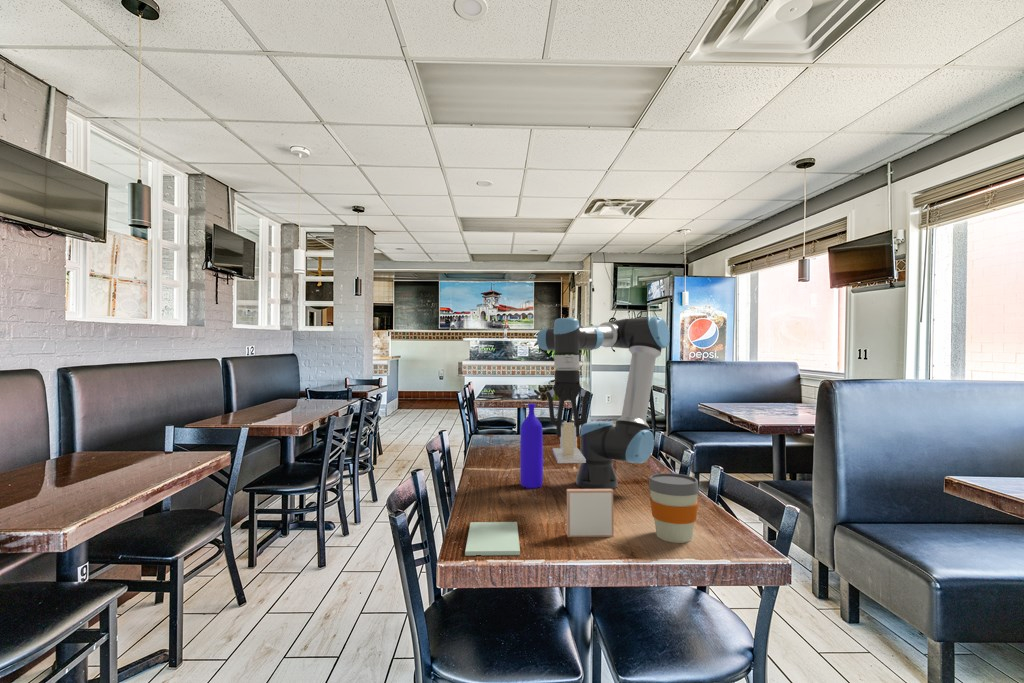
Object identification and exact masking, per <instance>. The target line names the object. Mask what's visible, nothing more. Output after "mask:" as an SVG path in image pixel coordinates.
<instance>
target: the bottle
mask: <svg viewBox="0 0 1024 683" xmlns="http://www.w3.org/2000/svg"><path fill="white" fill-rule="evenodd" d="M527 406H528V415H527V417H525V418H524V420H523V421H522V422H521V425H520V439H519V440H520V449H519V450H520V451H519V452H520V455H519V457H520V458H519V459H520V460H519V461H520V462H519V463H520V465H519V466H520V467H519V468H520V486H521V487H522V486H523V487H522V488H524V487H526V488H525V489H539V488H538V487H540V488H542V486H543V479H544V476H543V475H544V472H543V471H544V456H543V455H544V447H543V446H544V444H543V440H544V439H543V435H544V434H543V425H542V422H540V420H539V418H537V416H536V415H535V406H536V403H527Z"/></svg>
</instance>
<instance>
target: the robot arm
mask: <svg viewBox="0 0 1024 683" xmlns="http://www.w3.org/2000/svg"><path fill="white" fill-rule="evenodd" d="M670 339H671V338H670V330H669V327H668V323H666V321H665V319H663V318H662V317H659V316H648V317H647V316H646V317H635V318H633V317H632V318H622V319H617V320H614V321H613V320H612V321H608V322H603V323H600V324H598V325H580V322H579V319H578V318H575V317H563V318H562V317H560V318H555V320H554V322H553V327H546V328H542V329H540V330H539V332H537V336H536V344H537V346H538V347H539V349H541V350H543V351H548V352H551V351H554V355H553V359H554V360H553V361H554V366H553V368H555V369H556V370H554V385H553V387H552V389H550V390H546V391H545V397H546V398H547V402H548V412H549V414H548V415H549V422H550V424H551V425H554V426H555V427H556V436H557V438H559V445H560V446H559V448H561V449H564V439H563V426H562V420H563V413H564V407H565V406H564V404H565V401H570V405H571V409H572V410H571V411H572V416H573V430H574V449H576V448H577V437H578V438H579V437H580V439H579V440H580V452H581V453H582V455H583V456H584V457H585V459H586V463H579V468H578V470H577V474H576V477H575V483H576V484H575V485H576V486H577V487H579V488H580V489H612V490H614V489H616V488H617V487H618V485H619V484H618V478H617V474H616V471H615V468H614V463H613V461H621V462H626V463H629V464H643V463H645V462H646V461H648V460H649V459H650V457H651V455H652V453H653V451H654V447H655V440H654V438H655V437H654V434H653V433H652V431H650V426H649V424H648V422H647V417H648V416H647V415H648V410H649V405H650V398H651V390H652V385H653V384H652V383H653V379H654V372H655V366H656V359H657V358H658V357H660V356H661V354H662V349H666V348H667V347H668V346H669V344H670ZM601 346H602V347H603V348H618V349H628V351H629V353H630V354H631V357H630V358H631V359H630V365H629V371H628V376H627V382H626V388H625V395H624V399H623V405H622V406H623V407H622V412H621V416H620V417H619V418H617V419H616V421H615V426H614V424H613V422H612V421H595V422H587V411H588V410H587V408H588V407H587V406H588V398H589V396H590V394H591V393H590V391H589V390H585V389H583V388H582V386H581V381H580V380H581V377H580V375H581V374H580V373H581V372H580V370H579V368H580V351H581V350H583V351H585V350H586V351H593V350H597V349H600V347H601ZM554 393H555V395H556V396H557V397H558V399H559V400H558V408H557V414H556V417H555V408H554V399H553V398H554ZM579 394H580V396H581V397H582V398H581V406H580V419H579V413H578V407H577V397H579ZM555 418H556V420H555ZM586 422H587V423H586Z"/></svg>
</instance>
